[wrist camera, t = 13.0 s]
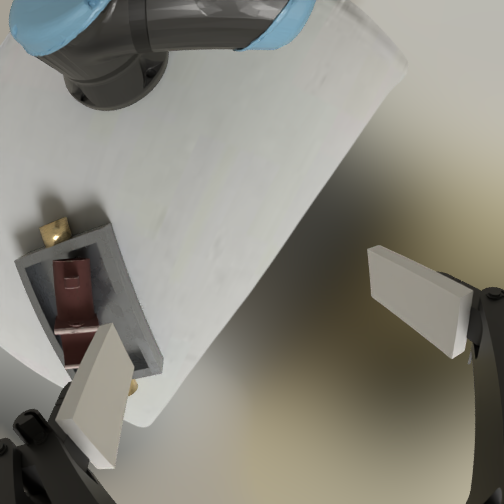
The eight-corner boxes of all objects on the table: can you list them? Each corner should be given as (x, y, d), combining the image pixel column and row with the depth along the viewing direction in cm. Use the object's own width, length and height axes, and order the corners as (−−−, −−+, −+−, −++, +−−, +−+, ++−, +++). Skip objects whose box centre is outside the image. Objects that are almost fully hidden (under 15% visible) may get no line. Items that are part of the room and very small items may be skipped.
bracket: (67, 365, 39) (67, 393, 30) (53, 258, 38) (46, 263, 29) (102, 361, 42) (110, 388, 34) (90, 256, 41) (93, 261, 33)
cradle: (20, 235, 36) (6, 242, 32) (104, 202, 38) (95, 205, 34) (91, 387, 45) (85, 402, 40) (170, 372, 46) (169, 388, 42)
